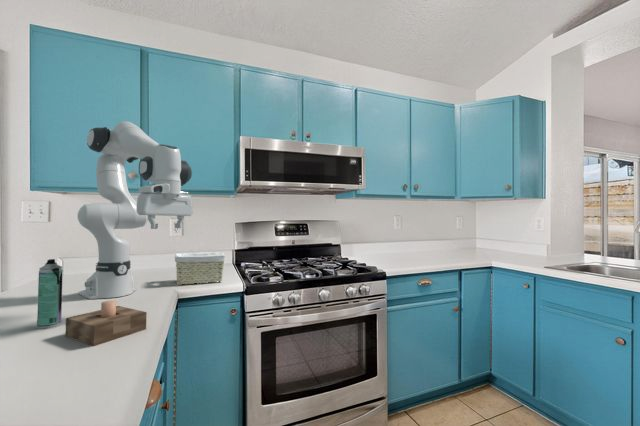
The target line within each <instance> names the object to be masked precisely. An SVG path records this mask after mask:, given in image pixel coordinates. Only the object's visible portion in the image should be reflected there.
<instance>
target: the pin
mask: <svg viewBox="0 0 640 426" xmlns="http://www.w3.org/2000/svg"><path fill="white" fill-rule="evenodd" d="M100 304H101V305H100V310H101V318H107V317H111V316H115V315H116V306H117V301H116V300H106V301H102V302H101V303H100Z"/></svg>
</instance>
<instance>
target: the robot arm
mask: <svg viewBox="0 0 640 426" xmlns="http://www.w3.org/2000/svg"><path fill="white" fill-rule="evenodd" d="M86 144H87V146H88V148H89V149H90V150H91V151H93V152H96V153H101V155H100V156H98V158H97V162H96V172H95V173H96V175H95V176H96V187H97V192H98V194H99V195H100V196H101V197H102V198H104V199H106V200H108V201H110V202H109V203H108V202H107V203H106V202H94V203H93V202H92V203H87V204H83V205H82V206H81V207H80V208H79V209H78V212H77V221H78V222H79V225H80V226H82V227H83V228H85V229H86V230H87V231H88V232H90V233H91V234H92V235H93V236H94V238H95V240H96V243H97V247H98V249H97V250H98V261H97V263H95V272H93V274H91V276H89V277H88V278H87V279H86V281H85V282H84V287H85V289H84V290H80V291H78V295H80V296H81V297H84V298H85V299H88V300H95V299H97V300H98V299H111V298H118V297H124V296H125V297H126V296H129V295H131V294H133V293H134V292H135V291H137V290H136V287H134V277H133V272H132V271H131V270H130V269H131V265H132V264H131V260H130V247H131V246H130V243H129V241H128V240H127V239H125V238H123V237H122V236H121V237H120V236H119V235H116V234H115V230H119V229H120V230H131V229H132V230H133V229H137V228H143V227H145V226H146V224H147V223H148V222H149V224H150V229H151V230H155V229H158V228H159V227H158V226H159V223H156V221H155V219H156V216H167V217H168V216H170V217H173V216H175V217H176V219H177V221H176V222H175V223H174V229H181V228H182V224H183V221H184V220H185V217H191V216H192V215H193V213H194V209H193V201H192V194H190V193H189V192H188V191H182V190H181V189H182V187H183V186H184V185H186V184H187V183H188V182H190V180H191V179H192V176H193V172H192V167H191V166H190V165H189V163H188V162H187V161H186V160H182V156H181V151H180V148H178V147H176V146H172V145H167V144H160V143H158V142H157V141H156V140H154V139H153V138H151V137H150V136H149V135H148V134H147V133H145V131H143V130H142V129H141V128H140V127H139V126H138V125H136V124H134V123H133V122H131V121H120V122H119V123H117V124H116V125H115V126H114V128H113V129H110V128H108V127H107V126H104V127H93V128H91V129H90V130H89V132H88V134H87V135H86ZM139 159H140V161H139V163H138V174H139V176H140V177H141V178H142V180H144V181H146V182H151V183H153V184H149V185H143V186H140V187H139V188H138V193H140V194H139V195H138V196H137V200H136V199H134V198H133V196H132V195H131V193H130V191H129V188H128V182H127V175H126V170H125V164H126V162H127V163H129V164H131V163H134V161H137V160H139Z"/></svg>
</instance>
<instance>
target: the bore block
mask: <svg viewBox="0 0 640 426" xmlns="http://www.w3.org/2000/svg"><path fill="white" fill-rule="evenodd" d="M145 330H147V311H143V310H139V309H134V308H130V307H127V306H126V307H124V306H121V305H116V315H115V316H111V317H107V318H101V309H99V310H96V311H90V312H86V313H81V314H77V315H73V316H69V317H66V318H65V337H66V336H67V338H69V337H70V338H69V339H72V338H73V339H72V340H75V339H76V341H78V340H79V341H78V342H81V341H82V342H81V343H84V344H87V345H90V346H93V347H95V346H98V345H101V344H104V343H107V342H111V341H113V340H118V339H119V338H123V337H127V336H129V335H132V334H135V333H138V332H142V331H145Z"/></svg>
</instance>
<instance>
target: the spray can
mask: <svg viewBox="0 0 640 426" xmlns="http://www.w3.org/2000/svg"><path fill="white" fill-rule="evenodd" d="M63 270H64V269H63V266H61V265H59V264H58V263H57V262H56V260H55V259H54V258H51V259H47V262H46V263H44V265H43V266H42V267H39V270H38V281H37V282H38V284H37V285H38V286H37V287H38V289H37V290H38V291H37V292H38V293H37V317H36V318H37V319H36V320H37V321H36V324H37V325H36V327H37V329H38V330H47V329H53V328H56V327H59V326H61V325H62V308H63V307H62V304H63V301H62V300H63V272H64V271H63Z"/></svg>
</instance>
